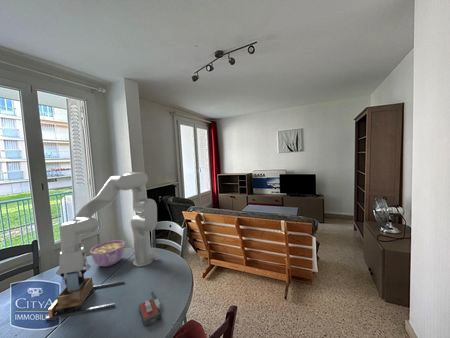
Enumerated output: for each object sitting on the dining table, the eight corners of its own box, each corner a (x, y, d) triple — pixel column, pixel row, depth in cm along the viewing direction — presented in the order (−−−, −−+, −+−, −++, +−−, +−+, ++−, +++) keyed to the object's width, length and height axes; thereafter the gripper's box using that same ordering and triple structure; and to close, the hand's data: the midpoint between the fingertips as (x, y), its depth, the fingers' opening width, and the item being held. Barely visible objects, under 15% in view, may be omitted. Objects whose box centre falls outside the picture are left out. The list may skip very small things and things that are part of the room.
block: (82, 284, 100) (81, 268, 100) (78, 289, 96) (77, 273, 95) (72, 285, 99) (70, 270, 99) (67, 291, 95) (66, 275, 94)
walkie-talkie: (166, 319, 85) (154, 293, 101) (165, 309, 84) (153, 285, 101) (144, 330, 80) (135, 301, 97) (143, 319, 80) (134, 292, 96)
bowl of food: (116, 270, 124) (115, 252, 123) (84, 272, 124) (82, 254, 123) (131, 255, 144) (130, 239, 143) (103, 256, 144) (102, 240, 143)
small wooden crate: (94, 289, 106) (93, 275, 106) (81, 310, 92) (80, 294, 91) (73, 293, 104) (71, 279, 104) (56, 315, 90) (54, 299, 89)
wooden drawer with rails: (124, 282, 112) (123, 273, 111) (114, 306, 93) (113, 296, 93) (68, 292, 105) (67, 283, 105) (45, 321, 87) (44, 310, 87)
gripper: (94, 242, 102) (97, 276, 103) (55, 247, 98) (59, 283, 99) (88, 248, 95) (91, 285, 96) (45, 254, 91) (50, 293, 92)
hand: (75, 284), depth 97 cm, fingers closed on block, 4 cm apart
